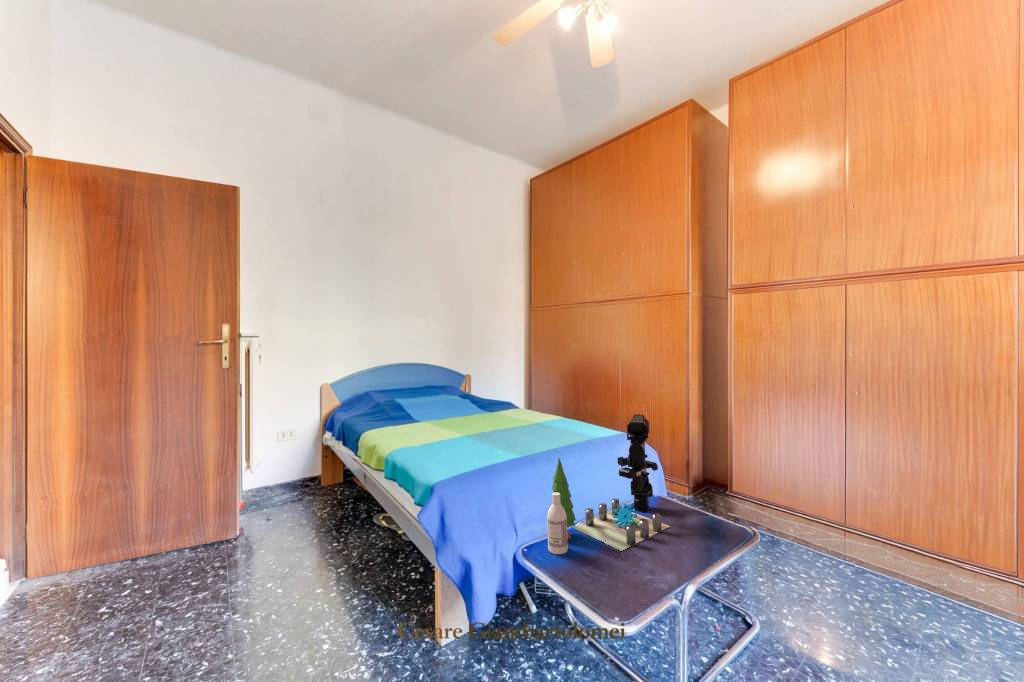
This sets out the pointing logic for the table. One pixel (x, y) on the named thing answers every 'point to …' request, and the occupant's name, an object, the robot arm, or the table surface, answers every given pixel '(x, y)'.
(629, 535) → the spacer posts
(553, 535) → the bath foam
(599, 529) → the board
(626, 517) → the gear
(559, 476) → the decorative tree
